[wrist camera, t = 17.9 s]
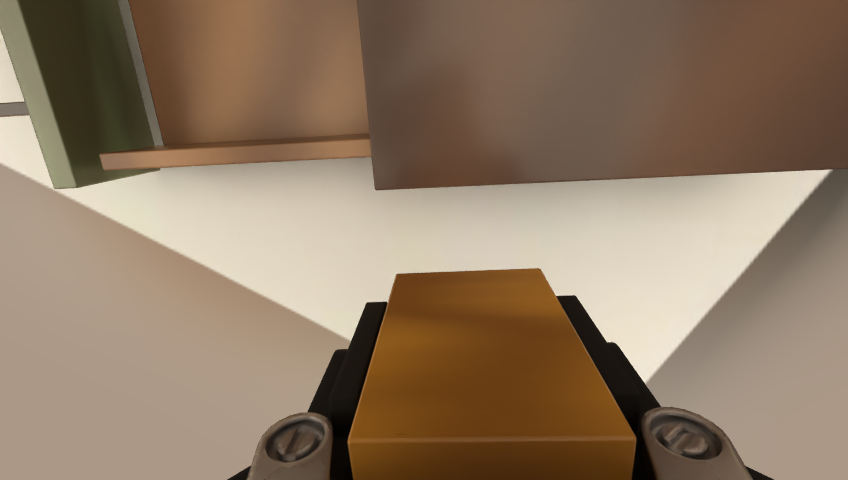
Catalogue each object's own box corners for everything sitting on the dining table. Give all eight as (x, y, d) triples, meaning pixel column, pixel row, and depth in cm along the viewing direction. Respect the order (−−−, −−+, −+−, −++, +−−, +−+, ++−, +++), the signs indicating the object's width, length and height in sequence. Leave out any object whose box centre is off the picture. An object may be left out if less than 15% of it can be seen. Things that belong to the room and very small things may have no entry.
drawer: (60, 175, 25) (-50, 194, 19) (-26, -87, 21) (-196, -156, 15) (449, 155, 23) (449, 169, 18) (438, -134, 19) (434, -232, 14)
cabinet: (396, 166, 24) (374, 190, 17) (373, -132, 20) (330, -268, 13) (739, 149, 23) (871, 167, 16) (796, -176, 19) (1016, -357, 11)
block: (406, 391, 13) (374, 625, 7) (395, 273, 11) (346, 441, 6) (537, 388, 12) (613, 630, 7) (540, 267, 11) (638, 439, 5)
